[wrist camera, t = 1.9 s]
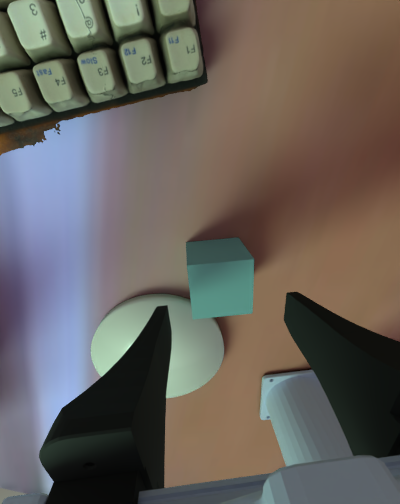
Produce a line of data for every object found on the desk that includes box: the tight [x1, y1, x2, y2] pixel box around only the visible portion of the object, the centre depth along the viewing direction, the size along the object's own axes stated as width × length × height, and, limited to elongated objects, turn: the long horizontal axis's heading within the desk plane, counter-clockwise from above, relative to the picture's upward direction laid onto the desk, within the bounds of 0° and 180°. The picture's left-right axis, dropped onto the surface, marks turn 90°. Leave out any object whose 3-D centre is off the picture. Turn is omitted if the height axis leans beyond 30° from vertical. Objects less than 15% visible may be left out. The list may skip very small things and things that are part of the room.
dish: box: [91, 294, 224, 398], centre depth 22 cm, size 13×13×1 cm
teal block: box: [186, 237, 254, 320], centre depth 17 cm, size 4×4×4 cm
